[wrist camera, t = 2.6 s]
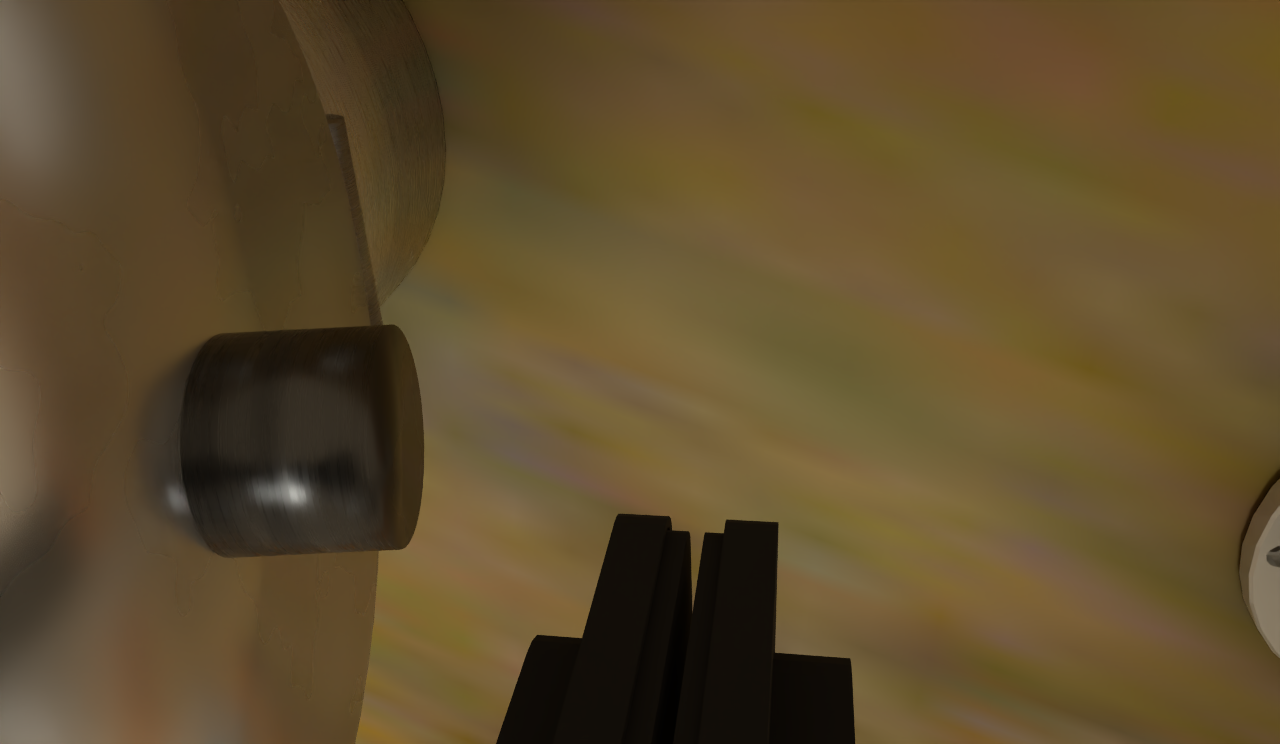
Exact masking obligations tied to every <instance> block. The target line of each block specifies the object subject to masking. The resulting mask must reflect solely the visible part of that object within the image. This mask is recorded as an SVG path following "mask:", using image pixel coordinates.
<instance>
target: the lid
mask: <svg viewBox="0 0 1280 744" xmlns="http://www.w3.org/2000/svg"><path fill="white" fill-rule="evenodd" d="M423 474H424V430H423V415H422V405H421V396H420V389H419V383H418V377H417V372H416V368H415V364H414V359H413V356H412V353H411V350H410V347H409V344H408V342H407V340H406V337H405V335H404V334H403V332H402V331H401V330H400V329H399V327H397V326H396V325H383V322H382V317H381V312H380V306H379V301H378V296H377V290H376V285H375V280H374V274H373V269H372V264H371V258H370V253H369V248H368V242H367V237H366V232H365V226H364V221H363V216H362V210H361V205H360V200H359V194H358V189H357V184H356V178H355V173H354V168H353V162H352V157H351V152H350V146H349V141H348V136H347V130H346V125H345V120H344V117H343V116H340V115H336V114H325V113H324V109H323V106H322V103H321V100H320V98H319V95H318V92H317V89H316V87H315V84H314V81H313V79H312V76H311V73H310V70H309V68H308V65H307V62H306V59H305V57H304V55H303V52H302V50H301V48H300V46H299V43H298V41H297V39H296V36H295V34H294V32H293V29H292V27H291V25H290V23H289V20H288V18H287V16H286V14H285V12H284V10H283V8H282V6H281V4H280V2H279V0H0V744H355V740H356V735H357V730H358V725H359V720H360V715H361V709H362V703H363V697H364V690H365V684H366V677H367V671H368V664H369V656H370V647H371V639H372V630H373V622H374V611H375V599H376V586H377V573H378V554H379V551H380V550H400V549H403V548H405V547H406V546H407V545H408V544H409V542H410V540H411V538H412V536H413V534H414V531H415V528H416V525H417V520H418V516H419V511H420V505H421V498H422V488H423Z"/></svg>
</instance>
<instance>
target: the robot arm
mask: <svg viewBox="0 0 1280 744" xmlns="http://www.w3.org/2000/svg"><path fill="white" fill-rule="evenodd" d="M777 558H778V522H760V521H742V520H726V523H725V530H724V533H706V532H705V535H704V540H703V547H702V553H701V560H700V567H699V573H698V580H697V587H696V593H695V600H694V607H693V614H692V581H691V543H690V533H689V531H672V523H671V518H670V517H669V516H652V515H634V514H618V515H617V517H616V520H615V522H614V526H613V530H612V533H611V537H610V540H609V544H608V547H607V551H606V555H605V558H604V562H603V565H602V569H601V573H600V576H599V580H598V583H597V587H596V590H595V594H594V598H593V601H592V605H591V608H590V612H589V616H588V619H587V623H586V626H585V630H584V633H583V637H582V638H571V637H558V636H545V635H537V636H536V637H535V638H534V639H533V640H532V642H531V645H530V647H529V649H528V652H527V654H526V657H525V660H524V663H523V666H522V669H521V672H520V675H519V678H518V681H517V684H516V687H515V690H514V693H513V696H512V698H511V701H510V704H509V707H508V710H507V713H506V716H505V719H504V722H503V725H502V728H501V731H500V734H499V737H498V740H497V743H496V744H855V729H854V708H853V686H852V669H851V661H850V658H837V657H824V656H810V655H797V654H784V653H775V630H776V594H777ZM1239 575H1240V581H1241V588H1242V594H1243V600H1244V602H1245V604H1246V606H1247V608H1248V610H1249V612H1250V614H1251V617H1252V619H1253V621H1254V623H1255V625H1256V627H1257V629H1258V630H1259V632H1260V633H1261V635H1262V636H1263V638H1264V639H1265V641H1266V643H1267V644H1268V646H1269V647H1270V649H1271V650H1272V652H1274V653H1275V654H1276V655H1277V656H1278V657H1279V658H1280V479H1279V480H1278V481H1277V482H1276V483H1275V484H1274V485H1273V486H1272V487H1271V489H1270V490H1269V492H1268V493H1267V495H1266V497H1265V498H1264V500H1263V501H1262V503H1261V504H1260V506H1259V507H1258V509H1257V510H1256V512H1255V514H1254V515H1253V517H1252V520H1251V523H1250V525H1249V528H1248V531H1247V533H1246V536H1245V539H1244V541H1243V544H1242V551H1241V560H1240V569H1239Z"/></svg>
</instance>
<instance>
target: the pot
mask: <svg viewBox="0 0 1280 744" xmlns="http://www.w3.org/2000/svg"><path fill="white" fill-rule="evenodd" d="M279 2H280V4H281V6H282V8H283V10H284V12H285V14H286V16H287V18H288V20H289V23H290V25H291V27H292V29H293V32H294V34H295V36H296V39H297V41H298V43H299V46H300V48H301V50H302V52H303V55H304V57H305V59H306V62H307V65H308V68H309V70H310V73H311V76H312V79H313V81H314V84H315V87H316V89H317V92H318V95H319V98H320V100H321V103H322V106H323V109H324V113H325V114H336V115H340V116H343V117H344V120H345V125H346V130H347V136H348V141H349V146H350V152H351V157H352V162H353V168H354V173H355V178H356V184H357V189H358V194H359V200H360V205H361V210H362V216H363V221H364V226H365V232H366V237H367V242H368V248H369V253H370V258H371V264H372V269H373V274H374V280H375V285H376V290H377V296H378V301H379V306H381V305H382V304H383V303H384V302H385V301H386V300H387V298H388V297H389V296H390V295H391V294H392V293H393V292H394V290H395V289H396V288H397V287H398V286H399V285H400V283H401V282H402V281H403V279H404V278H405V277H406V275H407V274H408V273H409V271H410V270H411V269H412V267H413V266H414V265H415V263H416V262H417V260H418V258H419V256H420V254H421V252H422V250H423V248H424V247H425V245H426V243H427V241H428V239H429V236H430V233H431V231H432V228H433V225H434V222H435V219H436V216H437V213H438V210H439V204H440V199H441V194H442V189H443V184H444V171H445V152H446V148H445V135H444V122H443V113H442V108H441V103H440V98H439V93H438V88H437V83H436V79H435V76H434V73H433V70H432V67H431V64H430V61H429V58H428V55H427V52H426V49H425V46H424V44H423V42H422V39H421V37H420V35H419V33H418V31H417V29H416V26H415V24H414V22H413V20H412V18H411V15H410V13H409V11H408V9H407V8H406V6H405V4H404V3H403V1H402V0H279Z"/></svg>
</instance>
